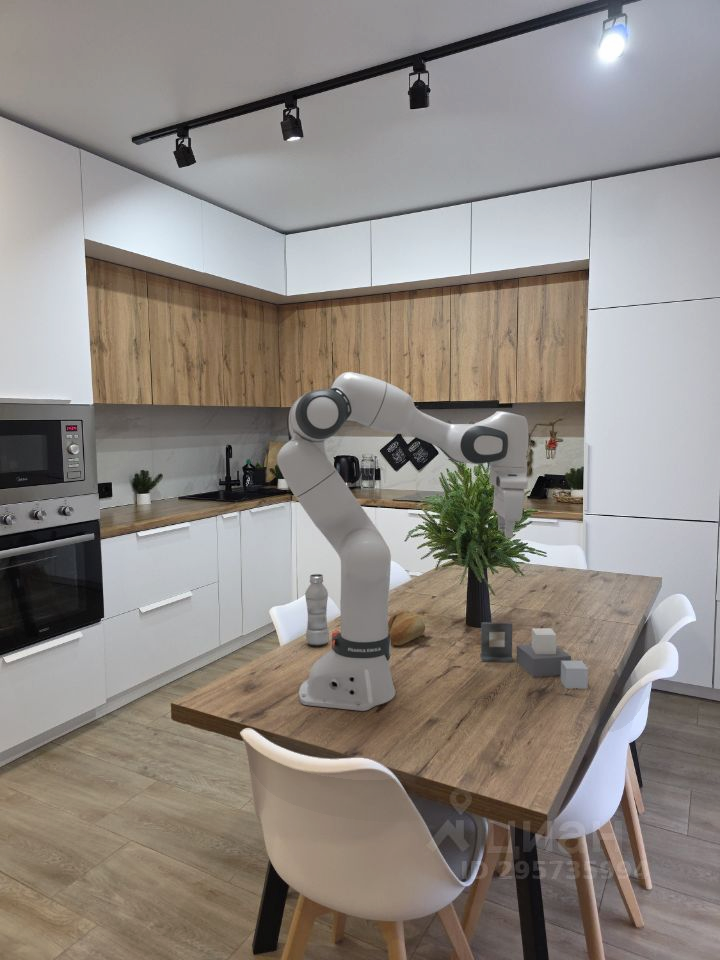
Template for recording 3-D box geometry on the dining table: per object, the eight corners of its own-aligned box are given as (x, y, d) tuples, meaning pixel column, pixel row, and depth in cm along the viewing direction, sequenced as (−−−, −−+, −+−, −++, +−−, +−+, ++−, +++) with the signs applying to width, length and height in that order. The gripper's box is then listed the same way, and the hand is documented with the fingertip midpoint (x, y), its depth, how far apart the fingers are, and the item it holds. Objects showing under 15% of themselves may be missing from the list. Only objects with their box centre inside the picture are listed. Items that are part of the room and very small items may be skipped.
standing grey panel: (482, 661, 172) (482, 625, 171) (480, 656, 176) (480, 620, 175) (512, 661, 172) (513, 625, 171) (510, 656, 176) (510, 620, 175)
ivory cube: (535, 654, 164) (536, 634, 164) (531, 647, 169) (531, 628, 169) (556, 654, 164) (556, 634, 164) (551, 647, 169) (551, 628, 169)
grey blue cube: (566, 688, 155) (566, 668, 154) (560, 680, 160) (561, 660, 159) (587, 689, 155) (588, 668, 154) (581, 680, 160) (581, 660, 159)
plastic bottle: (334, 643, 187) (333, 575, 185) (316, 650, 182) (315, 579, 180) (318, 638, 191) (317, 571, 189) (301, 644, 186) (299, 575, 184)
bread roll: (377, 645, 186) (377, 617, 185) (402, 630, 198) (402, 604, 198) (408, 651, 181) (408, 623, 180) (431, 635, 193) (431, 609, 193)
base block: (533, 678, 162) (533, 659, 161) (516, 663, 171) (516, 645, 171) (570, 675, 163) (571, 656, 163) (552, 660, 173) (552, 642, 173)
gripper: (488, 474, 170) (486, 526, 171) (501, 481, 149) (498, 541, 151) (513, 475, 169) (510, 527, 171) (529, 482, 149) (526, 542, 150)
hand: (505, 534), depth 160 cm, fingers open, 8 cm apart
